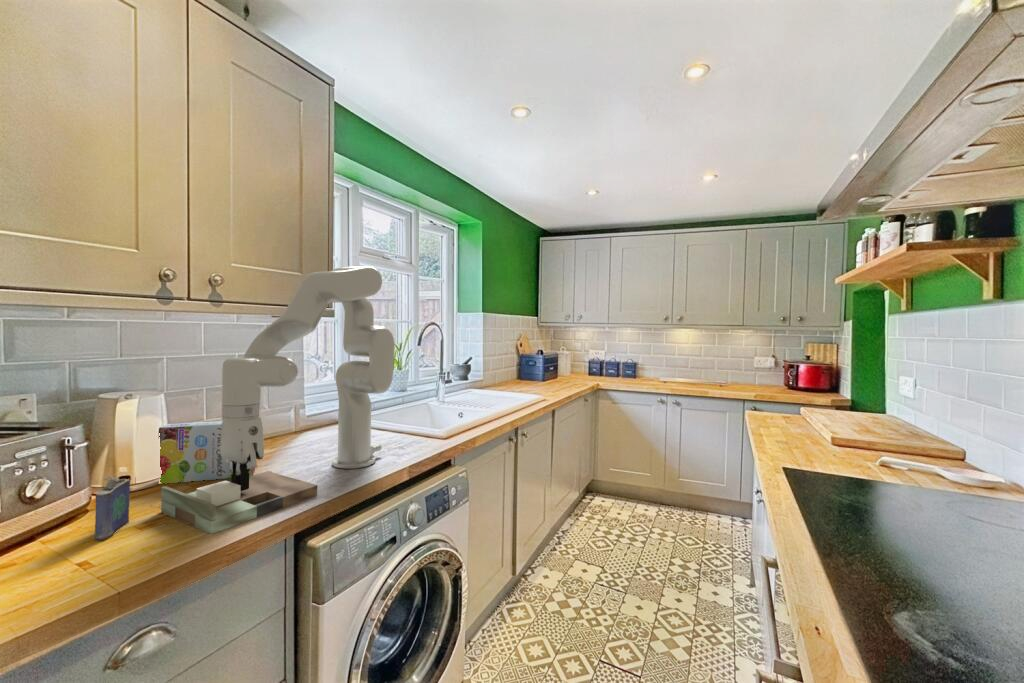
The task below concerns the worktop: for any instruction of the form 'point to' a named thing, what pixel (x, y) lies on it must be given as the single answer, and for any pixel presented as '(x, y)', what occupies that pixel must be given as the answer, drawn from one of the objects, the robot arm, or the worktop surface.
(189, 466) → the snack box
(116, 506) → the flask
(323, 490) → the worktop surface
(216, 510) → the box
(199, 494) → the block
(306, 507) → the worktop surface
